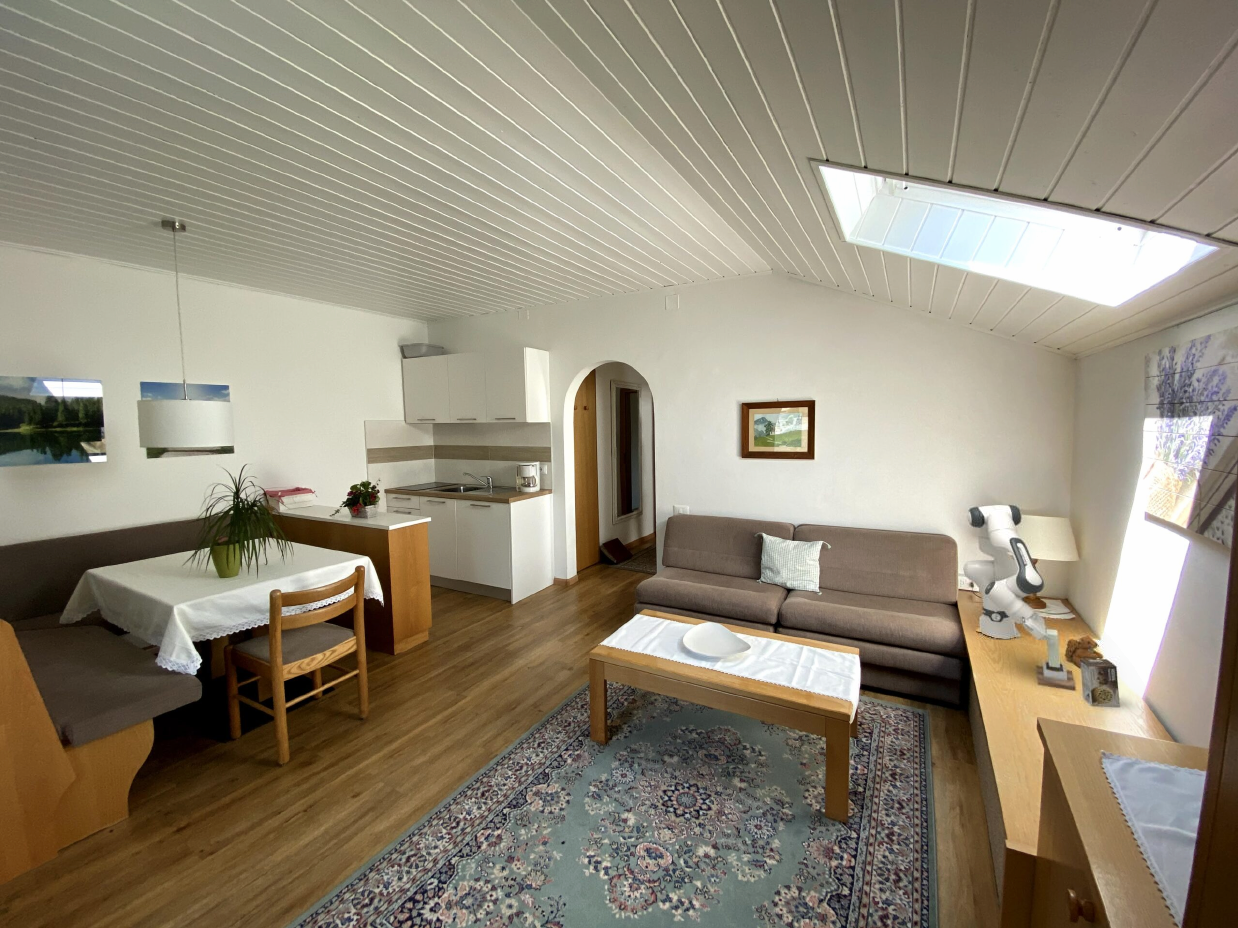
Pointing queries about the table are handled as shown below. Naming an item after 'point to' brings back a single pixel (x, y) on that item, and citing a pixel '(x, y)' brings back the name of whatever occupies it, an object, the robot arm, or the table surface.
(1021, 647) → the table surface
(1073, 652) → the stuffed squirrel
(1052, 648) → the pale green rectangular block
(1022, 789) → the table surface
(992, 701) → the table surface
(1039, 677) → the wooden base with socket
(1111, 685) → the coffee box
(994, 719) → the table surface
